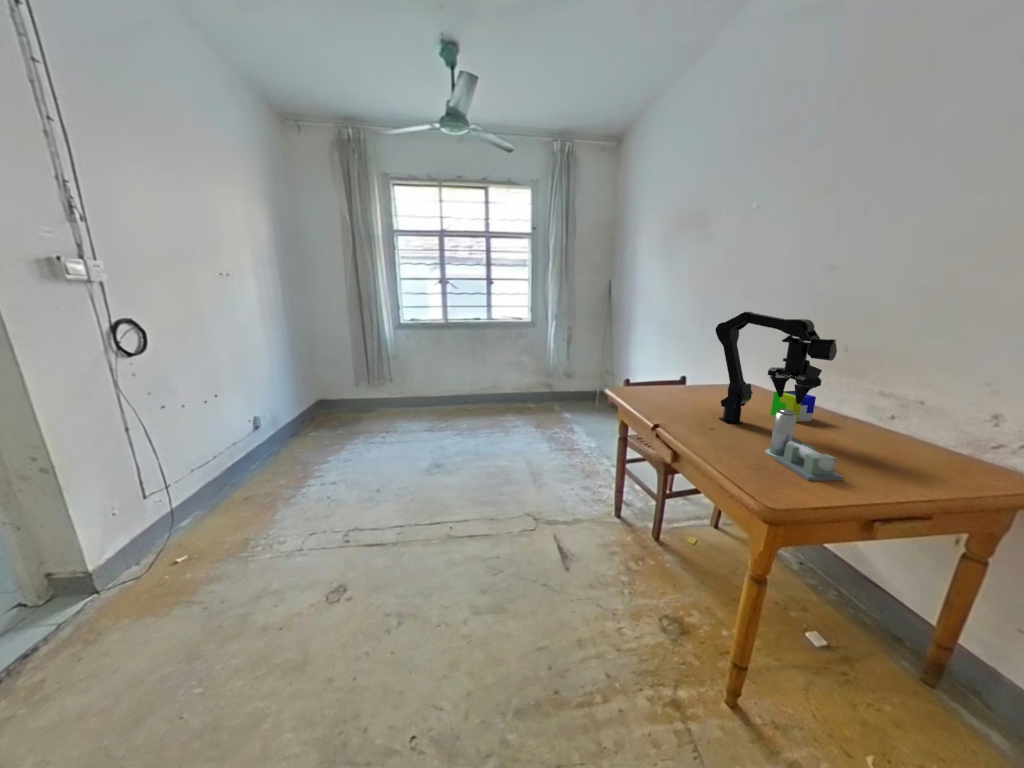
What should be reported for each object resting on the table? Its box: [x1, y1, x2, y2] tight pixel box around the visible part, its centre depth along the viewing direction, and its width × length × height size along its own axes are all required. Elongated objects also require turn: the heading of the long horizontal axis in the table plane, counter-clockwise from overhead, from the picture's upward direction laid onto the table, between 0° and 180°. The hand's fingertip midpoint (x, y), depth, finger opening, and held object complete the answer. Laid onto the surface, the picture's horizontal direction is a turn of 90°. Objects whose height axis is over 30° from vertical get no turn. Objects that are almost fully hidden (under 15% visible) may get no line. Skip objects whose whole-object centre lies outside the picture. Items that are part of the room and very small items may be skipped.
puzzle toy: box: [770, 390, 817, 423], centre depth 167 cm, size 10×10×10 cm
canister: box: [769, 409, 797, 457], centre depth 129 cm, size 6×6×14 cm
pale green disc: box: [764, 448, 783, 458], centre depth 130 cm, size 8×8×1 cm
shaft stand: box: [773, 437, 845, 482], centre depth 118 cm, size 14×10×7 cm
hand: (789, 400), depth 144 cm, fingers open, 9 cm apart
